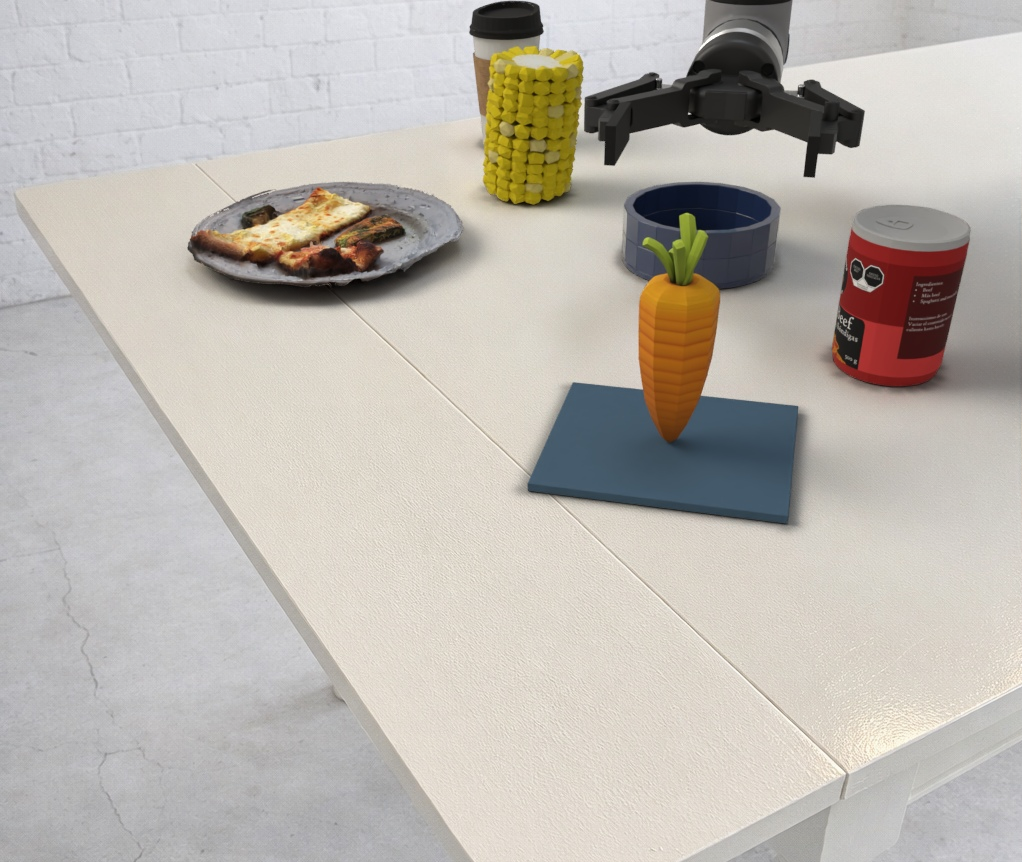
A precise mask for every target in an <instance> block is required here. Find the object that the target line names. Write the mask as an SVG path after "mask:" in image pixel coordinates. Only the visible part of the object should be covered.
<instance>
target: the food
mask: <svg viewBox="0 0 1022 862" xmlns="http://www.w3.org/2000/svg"><path fill="white" fill-rule="evenodd" d="M584 69H585V67H584V61H583V59H582V57H581V55H580V54H579V53H578V52H577V51H575V50H569V51H567V50H563V49H556V50H554V49H552V48H548V47H545V48H541V49H539V50H538V48H537V47H536V46H529V47H525V48H524V49H523V50H522V49H520V48H519V47H518V46H516V47H513V48H511V49H509V51H508V52H507V51H503V52H502V53H493V55H492V56H491V62H490V67H489V71H490V80H489V82H488V86H489V88H490V89H489V91H488V97H487V100H488V102H487V105H486V106H487V108H486V110H487V114H486V119H487V123H486V124H485V134H486V138H485V141H484V144H483V155H484V160H483V163H482V166H483V169H482V170H483V173H484V175H483V176H482V182H483V184H484V186H485V188H486V191H487V193H488V194H489V195H491V196H492V195H496V197H497V198H498V199H499V200H500V201H502V202H508V201H511V202H512V203H513V205H517V204H520V203H523V202H525V203H527V204H530V205H533V206H534V205H536V204H539V203H540V201H541V200H544V201H547V202H549V201H551V200H552V199H554V198H555V196H556V197H561V196H563V194H564V193H567V192H570V190H571V186H572V175H573V171H574V169H573V168H574V162H575V161H576V157H575V155H576V151H577V148H576V146H577V144H578V143H577V142H578V140H577V137H578V133H579V131H578V127H580V122H579V119H580V113H579V111H580V109H581V106H582V105H583V103H582V92H583V91H582V88H583V87H582V83H583V82H584V74H583V73H584ZM484 145H485V146H484Z"/></svg>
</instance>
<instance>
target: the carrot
mask: <svg viewBox="0 0 1022 862" xmlns="http://www.w3.org/2000/svg"><path fill="white" fill-rule="evenodd" d="M679 221H680V233H681V239H679V240H676V241H674V242H673V244H672V246H673V248H672V249H670V251H669V252H667V250H666V249H665V248H664V246H663V245H662V244H661V243H659V242H658V241H656V240H654V239H652V238H650V237H647V238H645V239H644V241H643V246H644V247H646V248H647V249H649V250H651V251H652V252H654V254H655V255H656V256H657V257H658V258H659V259H660V261H661V262H662V263H663V265H664V267H665V269H666V271H667V273H666V274H661V275H657V276H654V277H653V278H652V279H651V280H650V281H649V280H648V282H647V284H646V285H645V287H644V288H643V290H642V291H641V294H640V297H639V300H638V331H637V332H638V334H637V335H638V337H637V338H638V364H639V371H640V379H641V385H642V389H643V392H644V398H645V402H646V405H647V407H648V410H649V413H650V416H651V419H652V420H653V422H654V424H655V426H656V428H657V430H658V432H659V434H660V436H661V437H662V438H663V439H664V440H665V441H667V442H668V443H671V442H673V441H674V440H676V439H677V438H678V437H679V435H680V434H681V433H682V431H683V430H684V428H685V427H686V425H687V424H688V422H689V420H690V418H691V416H692V414H693V412H694V410H695V407H696V405H697V403H698V401H699V399H700V397H701V396H702V393H703V390H704V387H705V384H706V381H707V377H708V373H709V370H710V366H711V363H712V359H713V356H714V355H713V354H714V349H715V343H716V336H717V329H718V321H719V314H720V313H719V312H720V305H721V293H720V289H718V288H717V287H716V286H715V285H714V284H713V283H712V282H710V281H709V280H707V279H705V278H704V277H702V276H701V275H699V274H695V273H693V272H694V269H695V267H696V265H697V263H698V261H699V259H700V257H701V255H702V252H703V250H704V248H705V245H706V242H707V239H708V235H707V234H706V233H705V231H702V230H699V231H698V233H697V232H696V222H695V217H694V216H693V215H692V214H689V213H685V214H682V215H680V216H679Z"/></svg>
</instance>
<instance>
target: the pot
mask: <svg viewBox="0 0 1022 862" xmlns="http://www.w3.org/2000/svg"><path fill="white" fill-rule="evenodd" d="M781 210H782V208H781V206H780V205H779V204H778V203H777V201H776V200H775V199H774V198H772V197H770V196H769V195H767V194H765V193H763V192H762V191H758V190H755V189H751V188H748V187H745V186H741V185H735V184H728V183H723V182H712V181H711V182H710V181H677V182H669V183H663V184H656V185H652V186H649V187H646V188H642V189H639V190H637V191H636V192H634V193H633V194H631V195H629V196H627V198H626V200H625V202H624V203H623V211H622V212H623V216H622V220H623V221H622V238H621V241H622V242H621V254H622V256H621V257H622V263H623V265H624V266H625V268H626V270H627V269H628V271H630V272H631V273H632V274H634V275H635V276H637V277H640V278H641V279H644V280H646V281H648V282H649V281H650V280H651V279H652V278H653V277H654V276H657V275H661V274H666V273H667V271H666V269H665V267H664V265H663V263H662V262H661V261H660V259H659V258H658V257H657V256H656V255H655V254H654V252H652V251H651V250H649V249H647V248H646V247H644V246H643V241H644V239H645V238H647V237H650V238H652V239H654V240H656V241H658V242H659V243H661V244H662V245H663V246H664V248H665V249H666V250H667V252H669V251H670V249H672V248H673V246H672V244H673V242H674V241H676V240H679V239H681V233H680V221H679V216H680V215H682V214H685V213H689V214H692V215H693V216H694V217H695V222H696V232H697V233H698V231H699V230H702V231H705V233H706V234H707V235H708V239H707V242H706V245H705V248H704V250H703V252H702V255H701V257H700V259H699V261H698V263H697V265H696V267H695V269H694V272H693V273H695V274H699V275H701V276H702V277H704V278H705V279H707V280H709V281H710V282H712V283H713V284H714V285H715V286H716V287H717V288H718V289H719V290H722V289H732V288H738V287H741V286H747V285H750V284H754V283H756V282H758V281H760V280H762V279H764V278H765V277H767V276H768V275H769V274H770V273H771V272H772V270H773V269H774V265H775V258H776V252H777V243H778V235H779V226H780V219H781Z"/></svg>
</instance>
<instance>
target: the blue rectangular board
mask: <svg viewBox="0 0 1022 862" xmlns="http://www.w3.org/2000/svg"><path fill="white" fill-rule="evenodd" d="M798 414H799V406H798V405H794V404H785V403H776V402H775V403H774V402H764V401H757V400H748V399H747V400H746V399H738V398H737V399H736V398H726V397H717V396H709V395H708V396H707V395H701V397H700V399H699V401H698V403H697V405H696V407H695V410H694V412H693V414H692V416H691V418H690V420H689V422H688V424H687V425H686V427H685V428H684V430H683V431H682V433H681V434H680V435H679V437H678V438H677V439H676V440H674V441H673V442H671V443H668V442H667V441H665V440H664V439H663V438H662V437H661V436H660V434H659V432H658V430H657V428H656V426H655V424H654V422H653V420H652V419H651V416H650V413H649V410H648V407H647V405H646V402H645V398H644V392H643V388H631V387H624V386H623V387H621V386H615V385H613V386H612V385H605V384H594V383H585V382H576V381H573V382H572V383H571V385H570V387H569V390H568V392H567V394H566V397H565V399H564V400H563V403H562V406H561V408H560V409H559V412H558V415H557V417H556V419H555V421H554V423H553V425H552V427H551V430H550V433H549V435H548V437H547V439H546V441H545V444H544V446H543V447H542V450H541V452H540V455H539V457H538V459H537V461H536V464H535V466H534V468H533V471H532V472H531V475H530V477H529V480H528V481H527V491H528V492H536V493H542V494H549V495H557V496H566V497H575V498H580V499H581V498H582V499H590V500H596V501H597V500H598V501H606V502H613V503H621V504H629V505H638V506H645V507H650V508H651V507H652V508H660V509H668V510H676V511H684V512H691V513H700V514H707V515H714V516H715V515H716V516H723V517H729V518H730V517H732V518H738V519H746V520H753V521H754V520H755V521H762V522H769V523H776V524H777V523H779V524H786V525H787V524H788V523H789V515H790V504H791V495H792V494H791V491H792V481H793V470H794V461H795V460H794V459H795V448H796V447H795V446H796V435H797V427H798Z"/></svg>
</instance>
